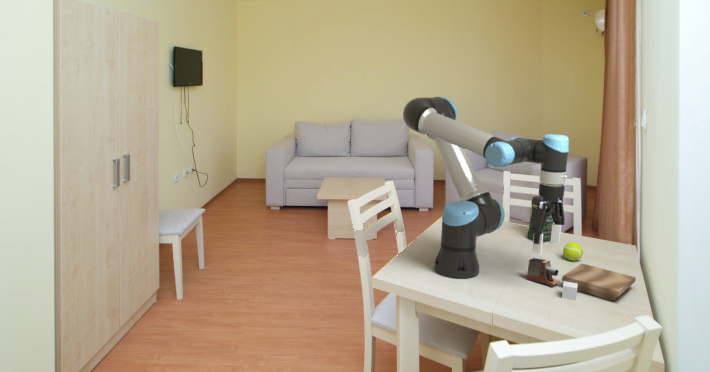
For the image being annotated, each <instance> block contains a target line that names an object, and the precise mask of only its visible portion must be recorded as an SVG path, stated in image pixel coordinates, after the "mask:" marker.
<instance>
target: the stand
mask: <svg viewBox="0 0 710 372" xmlns="http://www.w3.org/2000/svg"><path fill="white" fill-rule="evenodd" d="M561 278H562V279H561V281H563V282H564V281H565V282H572V283H578V286H577V292H581V293H584V294H588V295H591V296H594V297H598V298H602V299H606V300H609V301H612V302H615V301H616V300H617V299H618V298H619V297H621V296H622V294H623V293H625V292H626V291H627V290H628V289H629V288H630V287H631V286H632V285H634V284H635V282H636V279H637V278H636V276H632V275H628V274H624V273H621V272H616V271H612V270H609V269H605V268H600V267H599V266H598V267H597V266H594V265H589V264H586V263H580V264H579V265H577V266H575V267H574V268H572V269H571V270H569V271H568V272H566V273H565V274H563V275H562V277H561Z"/></svg>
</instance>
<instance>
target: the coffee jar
mask: <svg viewBox="0 0 710 372" xmlns="http://www.w3.org/2000/svg"><path fill="white" fill-rule="evenodd" d="M538 201H539V202H542V201H543V197H542V196H540V195H535V196H532V199H531V204H530V206H531V215H530V221H529V226H528V231H527V238H528V239H529V240H531V241H533V238H534V233H532V232H531V227H532V224H533V220H534V217H535V213H536V210H537V204H538ZM552 224H554V222H553V219H552V216H549V217H548V219H547V222H546V224H545V227H544V229H543V232H542V234H543V242H544V243H545V242H549V241H550V242H551V231H552Z"/></svg>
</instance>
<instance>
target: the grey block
mask: <svg viewBox="0 0 710 372" xmlns="http://www.w3.org/2000/svg"><path fill="white" fill-rule="evenodd" d="M577 286H578V283H572V282H566V281H563V284H562V292H561V293H562V294H561V299H567V300H572V301H576V300H577V295H578V290H577Z"/></svg>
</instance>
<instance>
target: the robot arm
mask: <svg viewBox="0 0 710 372" xmlns="http://www.w3.org/2000/svg"><path fill="white" fill-rule="evenodd" d="M457 116H458V109H457V107H456V104H454V102H453V101H452V100H451V99H449V98H447V97H442V96H433V97H432V96H431V97H415V98H413V99H411V100H409V101H408V102H407V103H406V104H405V106H404V108H403V112H402V119H403V122H404V123H405V125H406V126H407V127H408V128H409V129H411V130H412V131H414V132H417V133H419V134H421V135H423V136H424V135H426V136H427V138H428V139H430V140H433V141H434V143H435V145H436V148H437V150H438V152H439V154H440V156H441V159H442V160H443V163H444V165H445V167H446V169H447V171H448V174H449V176H450V178H451V181H452V183H453V184H454V185H453V186H454V187H455V190H456V192H457V194H458V196H459V199H460V200H459V201H457V200H456V201H452V202H449V203H447V204H446V205H444V207H443V210H442V215H441V237H440V238H441V239H440V249H439V250H438V253H437V256H436V258H435V261H434V271H435V272H436V273H437V274H439V275H441V276H445V277H448V278H452V279H471V278H475V277H477V276H478V275H479V274H480V264H479V263H480V262H479V260H478V256H477V252H476V247H477V246H476V245H477V243H476V242H477V238H479V237H481V236H484V235H486V234H487V235H488V234H491V233H493V232H495V231H497V230H498V229H499V228H501V227H502V225H503V223H504V220H505V214H506V213H505V209H504V207H503V205H502V203H500V201H498V200H497V199H495V198H493V197H492V196H491V193H490V191H489V190H486V189H484V188H483V186H482V184H481V182H480V180H479V178H478V176H477V173H476V171H475V170H474V167H473V164H472V162H471V161H470V159H469V157H468V154H467V152H470V153H472V154H474V155H476V156H479V157H482V158H484V159H485V160H486V162H487V163H488V164H489V165H490V166H492V167H495V168H497V167H498V168H504V167H507V166H511V165H515V164H521V163H532V164H533V163H534V164H540V174H539V182H540V183H539V185H538V196H542V197H543V201H542V202H539V201H538V204H537V210H536V213H535V217H534V220H533V224H532V227H531V232H532V233H534V238H533V240H532V250H531V253H532V254H537V255H542V251H543V234H542V232H543V229H544V227H545V224H546V222H547V219H548V217H549V216H552V219H553V224H552V231H551V240H550V244H553V245H558V246H559V245H560V241H561V239H560V238H561V233H562V231H561V230H562V226H564V225H565V224H566V223H565V222H566V221H565V220H566V217H565V213H564V212H565V210H564V203H563V202H564V196H565V188H566V187H565V183H566V179H567V178H568V175H566V174H567V166H568V165H567V163H568V155H569V152H570V150H569V143H570V142H569V141H570V139H569V137H568V136H567V135H564V134H554V133H552V134H551V133H550V134H548V133H547V134H545V135H543V137H542V139H537V138H536V139H535V138H533V139H532V138H525V137H511V138H509V139H508V140H504V139H502V138H500V137H497V136H496V135H493V134H490V133H488V132H485V131H483V130H480V129H479V128H475V127H473V126H470V125H468V124H465V123H464V122H461V121H458V120H457V119H458V117H457Z"/></svg>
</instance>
